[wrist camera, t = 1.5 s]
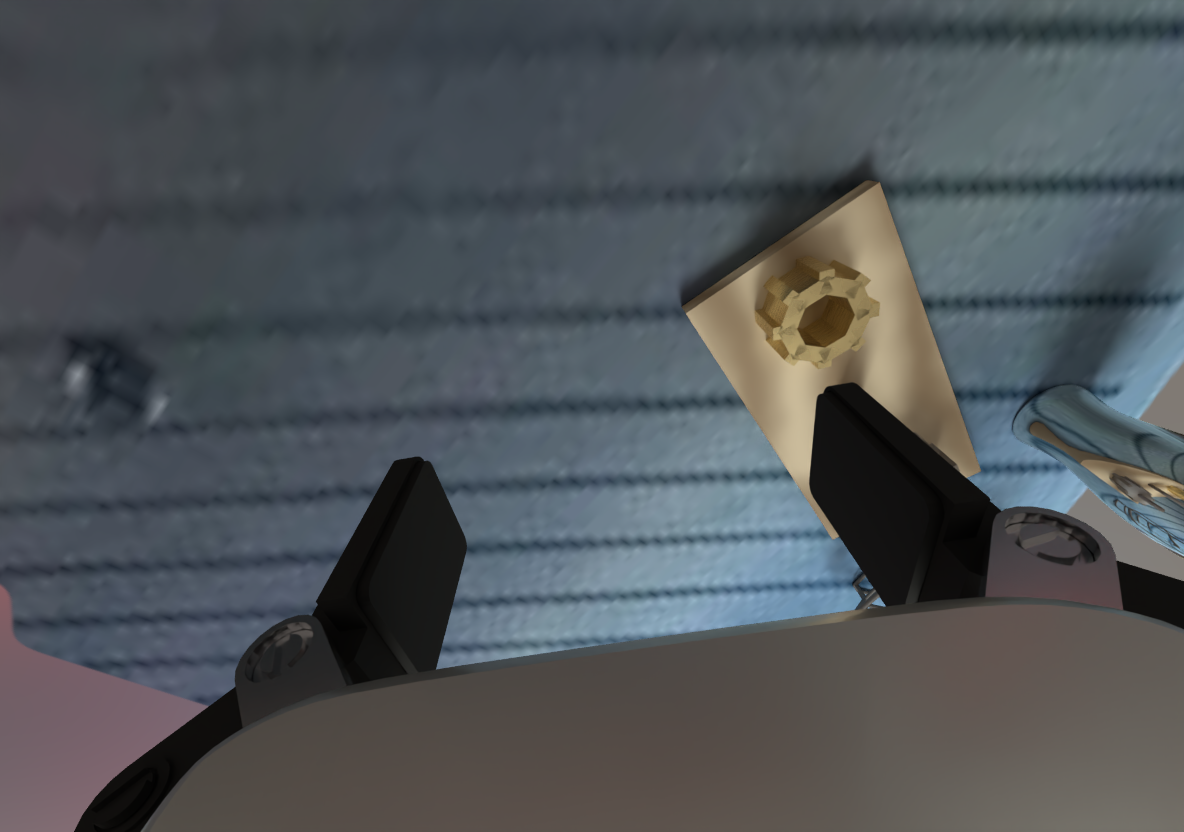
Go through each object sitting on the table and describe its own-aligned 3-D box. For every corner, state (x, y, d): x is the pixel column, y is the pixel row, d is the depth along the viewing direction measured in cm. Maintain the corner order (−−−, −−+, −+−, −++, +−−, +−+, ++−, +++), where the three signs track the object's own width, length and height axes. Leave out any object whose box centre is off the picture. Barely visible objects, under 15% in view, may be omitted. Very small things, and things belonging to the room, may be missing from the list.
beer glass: (994, 450, 42) (1179, 588, 29) (1024, 384, 38) (1250, 508, 25) (1072, 442, 42) (1292, 577, 29) (1109, 374, 38) (1379, 495, 25)
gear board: (866, 180, 30) (946, 192, 23) (968, 460, 42) (1038, 518, 36) (681, 306, 34) (706, 346, 27) (825, 528, 46) (865, 591, 40)
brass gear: (830, 236, 30) (858, 247, 27) (863, 313, 33) (891, 331, 30) (740, 295, 32) (757, 312, 29) (778, 363, 35) (798, 385, 32)
